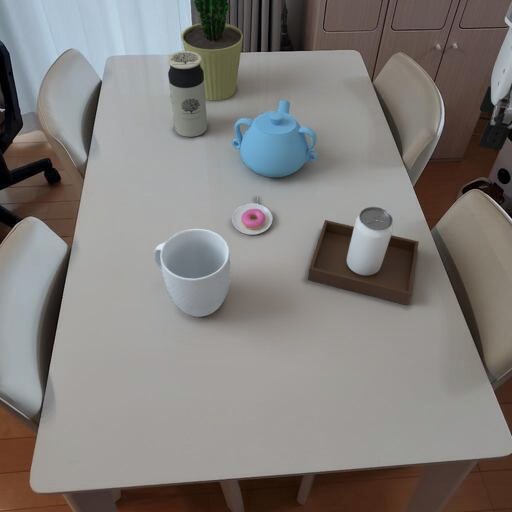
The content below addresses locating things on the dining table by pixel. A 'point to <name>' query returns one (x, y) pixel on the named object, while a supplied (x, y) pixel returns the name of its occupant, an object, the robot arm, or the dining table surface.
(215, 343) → the dining table surface
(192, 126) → the travel mug
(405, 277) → the tray
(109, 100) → the dining table surface
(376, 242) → the can
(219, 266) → the mug
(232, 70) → the potted cactus
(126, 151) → the dining table surface
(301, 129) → the teapot
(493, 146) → the robot arm
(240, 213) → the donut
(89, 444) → the dining table surface
